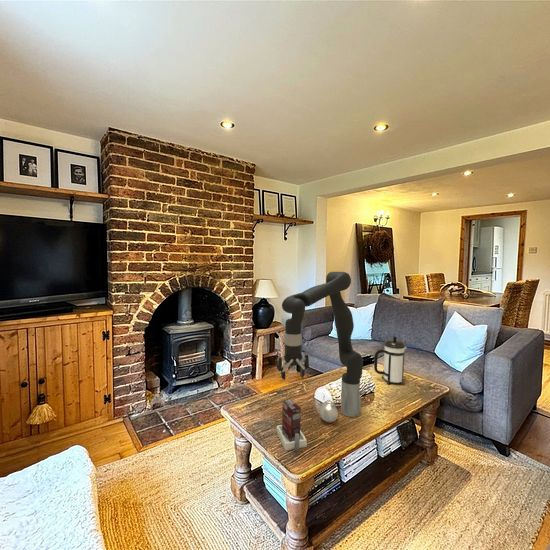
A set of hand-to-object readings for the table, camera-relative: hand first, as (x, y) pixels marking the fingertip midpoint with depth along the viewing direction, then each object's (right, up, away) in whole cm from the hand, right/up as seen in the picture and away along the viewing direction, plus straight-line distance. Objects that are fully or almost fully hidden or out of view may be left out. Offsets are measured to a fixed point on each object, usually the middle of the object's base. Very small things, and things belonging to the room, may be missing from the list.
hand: (292, 378), depth 135 cm
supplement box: (-1, -28, +1) cm, 28 cm away
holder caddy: (-1, -28, +1) cm, 28 cm away
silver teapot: (+19, -27, +16) cm, 37 cm away
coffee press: (+68, -24, +62) cm, 95 cm away
